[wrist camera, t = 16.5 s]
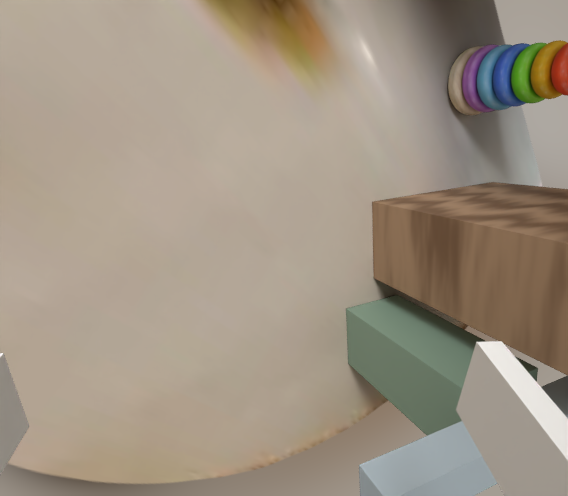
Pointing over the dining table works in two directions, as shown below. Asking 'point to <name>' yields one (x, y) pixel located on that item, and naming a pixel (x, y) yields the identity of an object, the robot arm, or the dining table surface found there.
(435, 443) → the rod
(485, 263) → the stand
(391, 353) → the post
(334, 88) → the dining table surface
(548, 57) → the stacking toy
